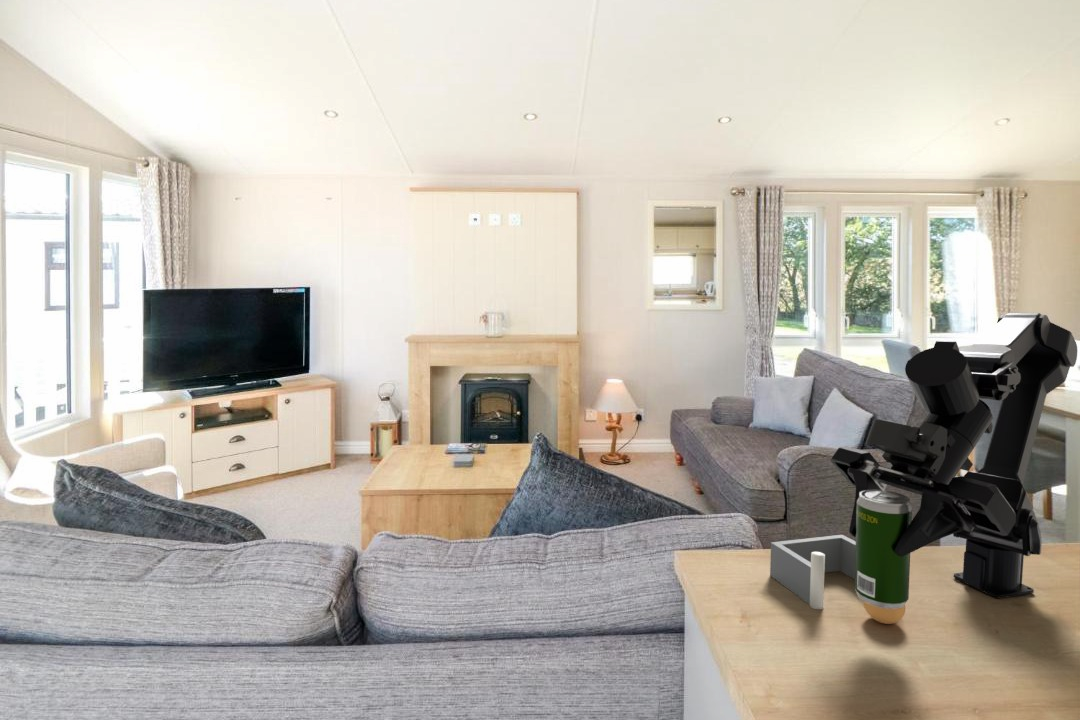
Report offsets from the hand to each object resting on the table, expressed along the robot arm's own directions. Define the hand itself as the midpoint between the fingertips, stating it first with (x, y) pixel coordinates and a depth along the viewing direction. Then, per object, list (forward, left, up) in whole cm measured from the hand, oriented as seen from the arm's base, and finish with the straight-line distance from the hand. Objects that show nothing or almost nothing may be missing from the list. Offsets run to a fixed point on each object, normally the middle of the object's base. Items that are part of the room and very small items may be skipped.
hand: (873, 544), depth 64 cm
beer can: (-1, 0, -7) cm, 7 cm away
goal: (-6, -13, -12) cm, 19 cm away
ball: (-6, -4, -12) cm, 14 cm away
